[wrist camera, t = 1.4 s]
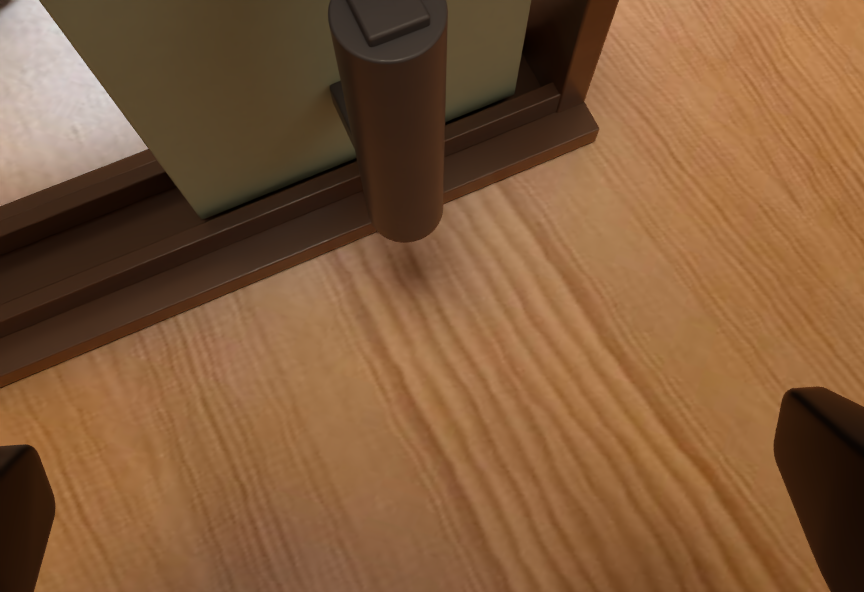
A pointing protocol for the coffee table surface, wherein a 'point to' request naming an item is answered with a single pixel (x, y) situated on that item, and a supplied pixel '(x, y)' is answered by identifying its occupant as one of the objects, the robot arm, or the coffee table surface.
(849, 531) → the robot arm
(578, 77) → the door frame
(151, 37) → the door
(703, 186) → the coffee table surface
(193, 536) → the coffee table surface
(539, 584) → the coffee table surface
